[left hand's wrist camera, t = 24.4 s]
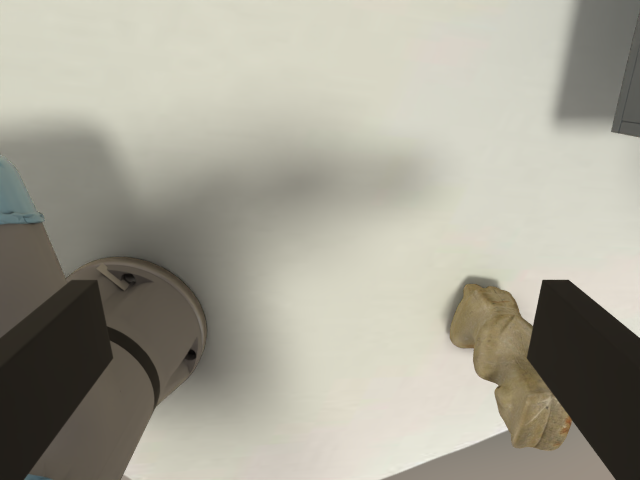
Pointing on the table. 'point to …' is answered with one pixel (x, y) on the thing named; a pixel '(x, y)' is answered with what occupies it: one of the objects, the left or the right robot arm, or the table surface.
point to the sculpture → (509, 366)
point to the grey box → (630, 92)
